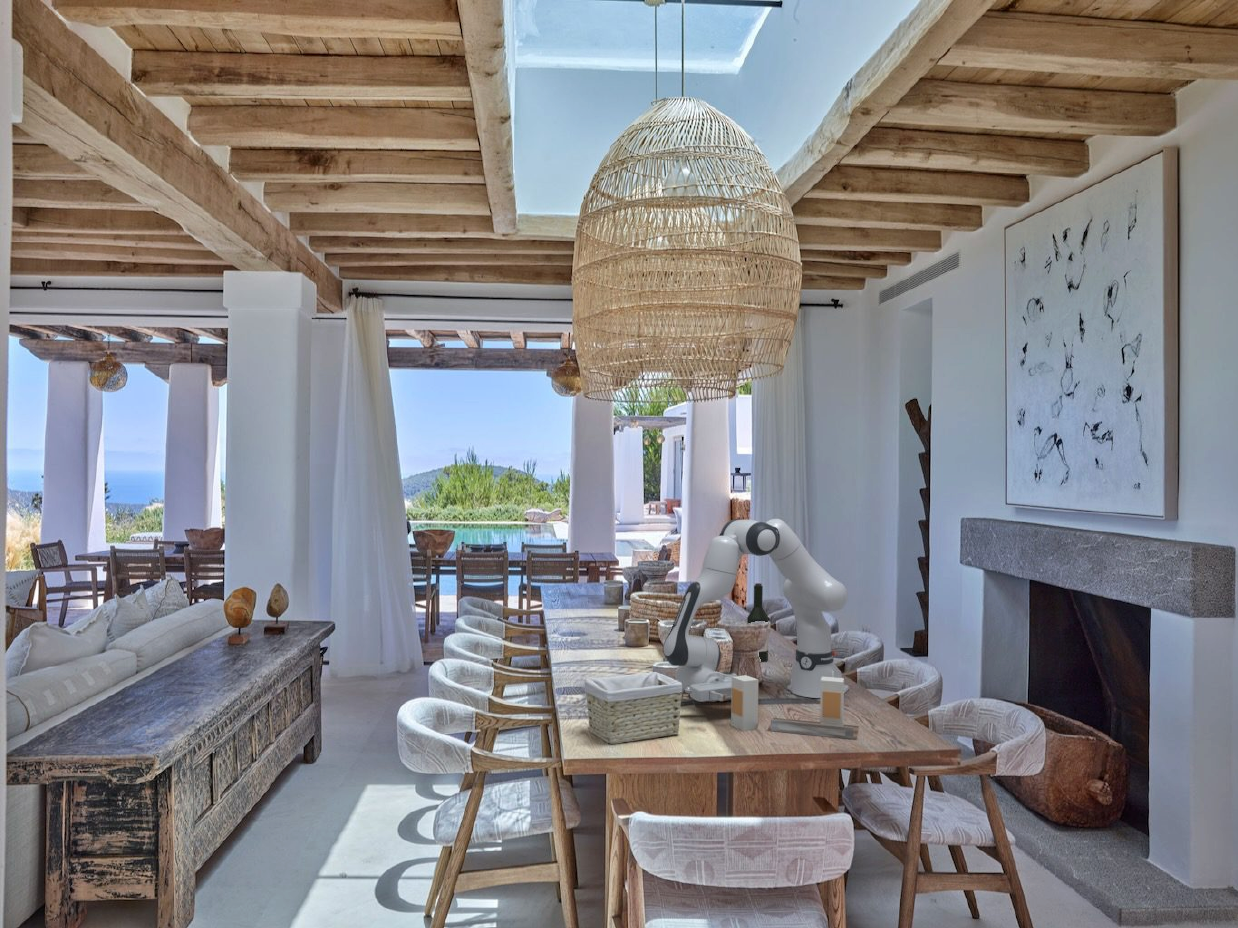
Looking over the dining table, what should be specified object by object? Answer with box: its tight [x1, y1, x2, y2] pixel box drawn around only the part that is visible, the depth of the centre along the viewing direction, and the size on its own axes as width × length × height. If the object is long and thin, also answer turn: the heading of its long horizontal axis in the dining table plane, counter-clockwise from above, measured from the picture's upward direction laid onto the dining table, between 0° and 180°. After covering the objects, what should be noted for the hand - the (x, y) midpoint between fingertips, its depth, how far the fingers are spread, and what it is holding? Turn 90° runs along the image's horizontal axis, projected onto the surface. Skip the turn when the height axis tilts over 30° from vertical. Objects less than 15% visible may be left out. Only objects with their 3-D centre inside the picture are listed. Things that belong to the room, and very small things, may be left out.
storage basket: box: [584, 671, 683, 745], centre depth 242 cm, size 24×16×15 cm
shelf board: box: [766, 717, 860, 741], centre depth 244 cm, size 14×24×4 cm, turn 72°
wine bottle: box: [746, 583, 769, 663], centre depth 342 cm, size 8×8×30 cm
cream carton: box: [730, 674, 759, 732], centre depth 249 cm, size 5×6×14 cm
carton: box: [819, 677, 845, 726], centre depth 243 cm, size 5×6×14 cm
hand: (737, 696), depth 253 cm, fingers open, 8 cm apart
